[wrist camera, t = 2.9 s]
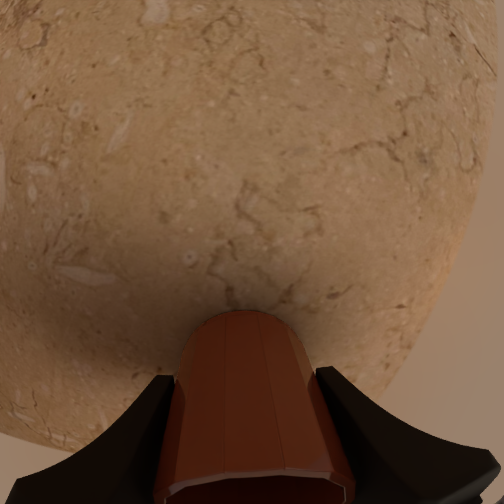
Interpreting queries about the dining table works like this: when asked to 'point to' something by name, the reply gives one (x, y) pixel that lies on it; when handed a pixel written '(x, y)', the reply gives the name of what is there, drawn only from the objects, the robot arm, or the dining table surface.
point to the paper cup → (249, 421)
